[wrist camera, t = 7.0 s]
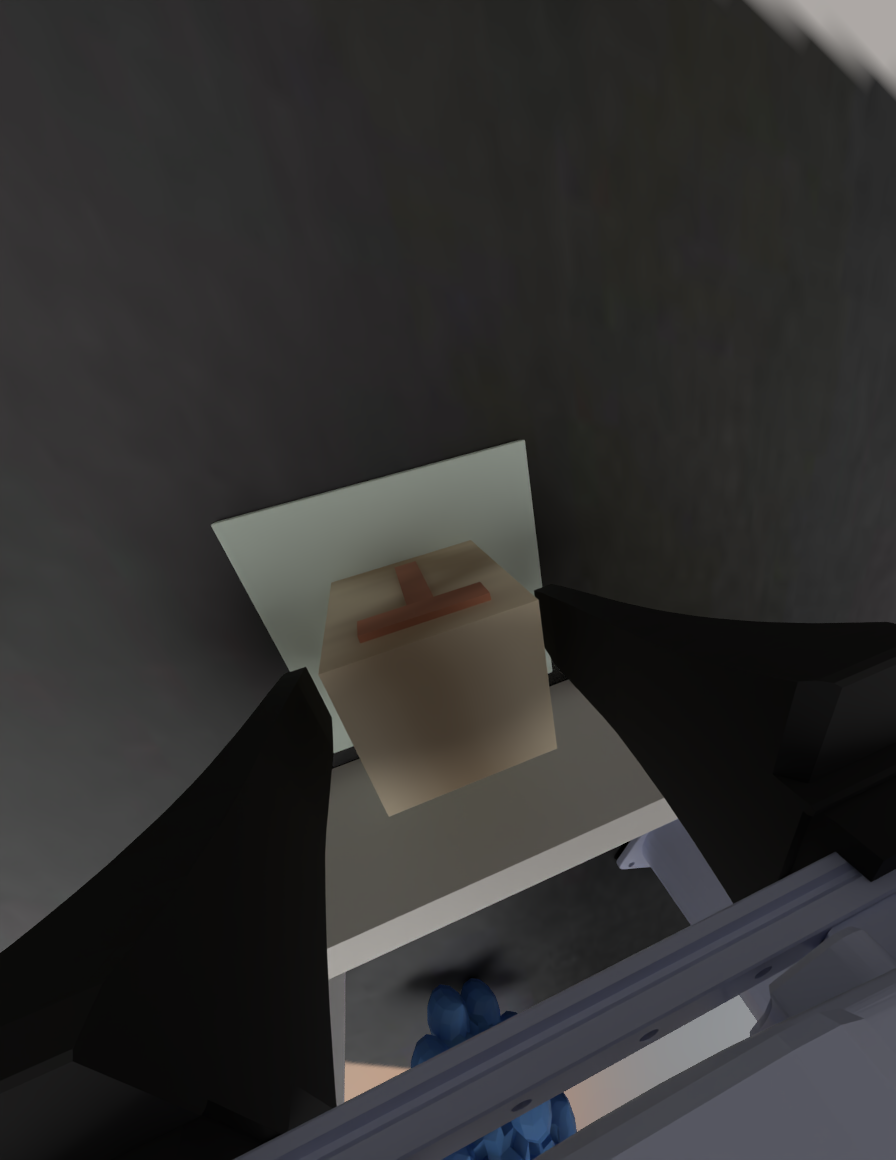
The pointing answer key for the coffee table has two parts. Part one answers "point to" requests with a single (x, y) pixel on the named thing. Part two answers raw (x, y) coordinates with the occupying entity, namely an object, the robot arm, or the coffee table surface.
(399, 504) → the sage mat
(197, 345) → the coffee table surface
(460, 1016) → the grapes
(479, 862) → the grey screen
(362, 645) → the maple cube
